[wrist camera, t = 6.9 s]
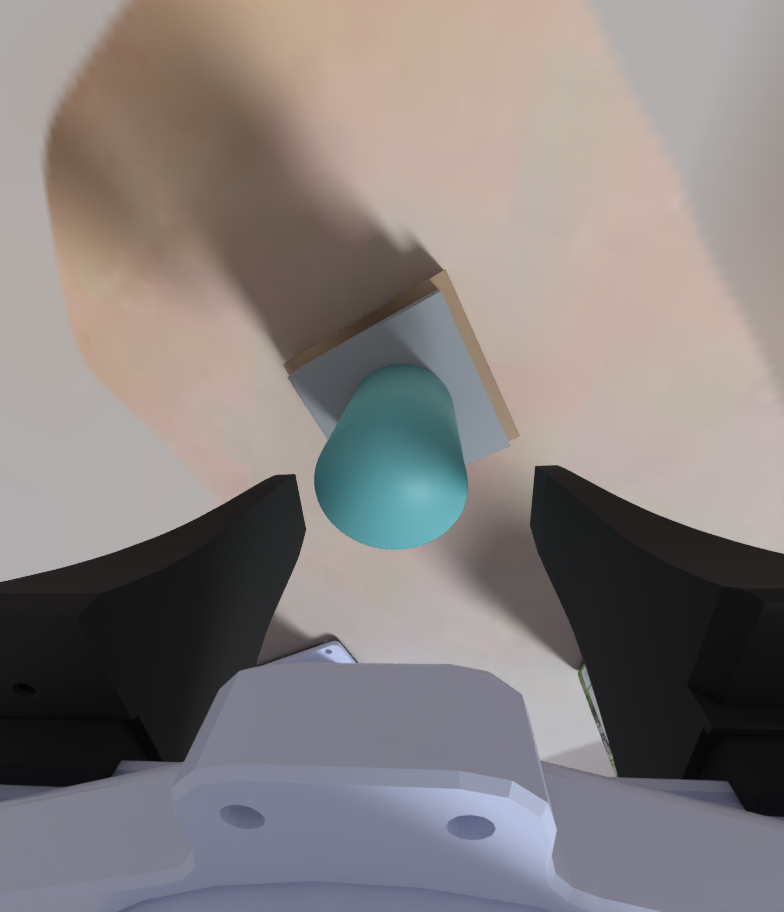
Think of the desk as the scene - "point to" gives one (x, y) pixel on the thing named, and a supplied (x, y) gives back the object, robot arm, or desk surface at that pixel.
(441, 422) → the teal capsule
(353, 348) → the grey slab
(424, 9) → the desk surface
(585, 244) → the desk surface
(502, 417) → the walnut slab
